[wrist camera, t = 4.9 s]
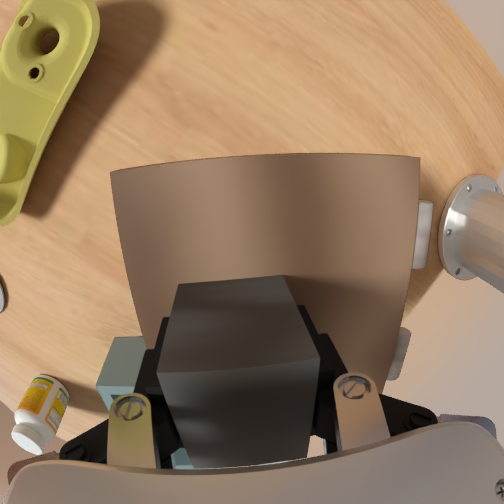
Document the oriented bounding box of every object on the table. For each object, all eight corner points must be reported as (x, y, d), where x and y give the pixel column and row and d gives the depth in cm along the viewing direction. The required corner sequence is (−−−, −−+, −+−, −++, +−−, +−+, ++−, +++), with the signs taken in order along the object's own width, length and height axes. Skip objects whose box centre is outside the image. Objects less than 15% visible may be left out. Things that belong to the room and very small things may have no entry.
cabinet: (149, 424, 31) (143, 482, 23) (114, 337, 27) (89, 402, 18) (272, 415, 33) (287, 474, 25) (270, 325, 28) (292, 391, 20)
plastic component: (14, 233, 20) (-70, 198, 13) (28, 195, 25) (-42, 166, 18) (127, 12, 14) (27, -33, 7) (123, 23, 19) (44, -15, 13)
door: (178, 417, 16) (171, 506, 10) (120, 169, 11) (32, 197, 5) (387, 387, 17) (429, 457, 11) (424, 157, 12) (529, 179, 6)
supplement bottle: (76, 393, 29) (54, 453, 20) (61, 408, 29) (40, 462, 20) (42, 366, 27) (11, 423, 18) (29, 383, 28) (2, 435, 19)
